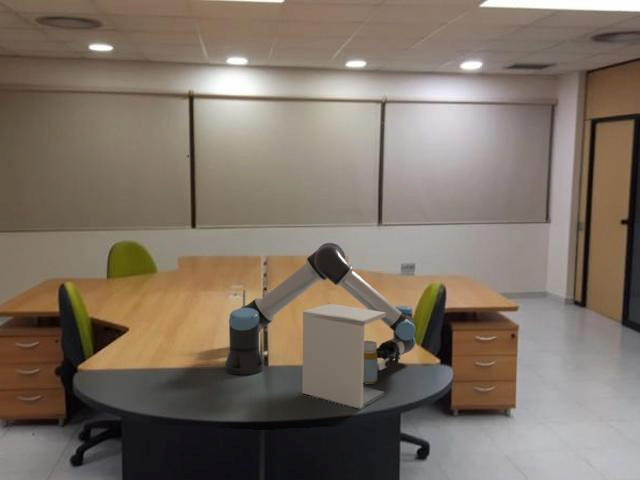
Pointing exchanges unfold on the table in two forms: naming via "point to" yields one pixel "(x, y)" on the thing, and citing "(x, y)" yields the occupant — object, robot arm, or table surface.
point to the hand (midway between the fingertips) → (363, 362)
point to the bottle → (370, 362)
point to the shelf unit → (336, 353)
